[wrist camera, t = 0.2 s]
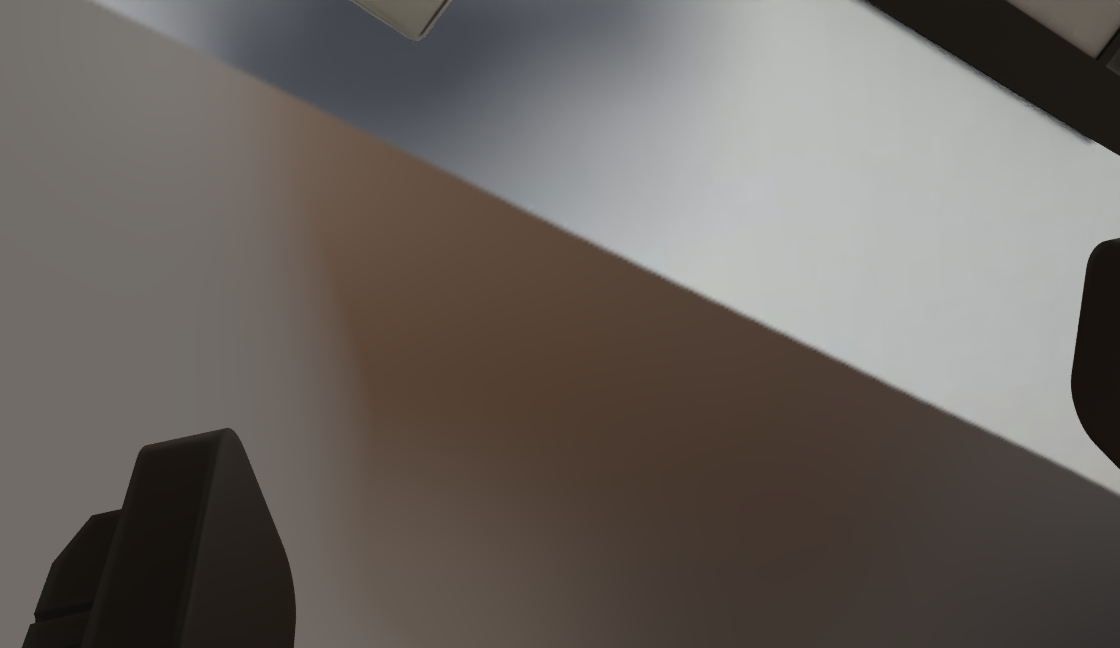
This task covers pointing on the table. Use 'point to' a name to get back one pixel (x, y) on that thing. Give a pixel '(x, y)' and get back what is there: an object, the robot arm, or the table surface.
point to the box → (406, 14)
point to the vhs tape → (1034, 52)
